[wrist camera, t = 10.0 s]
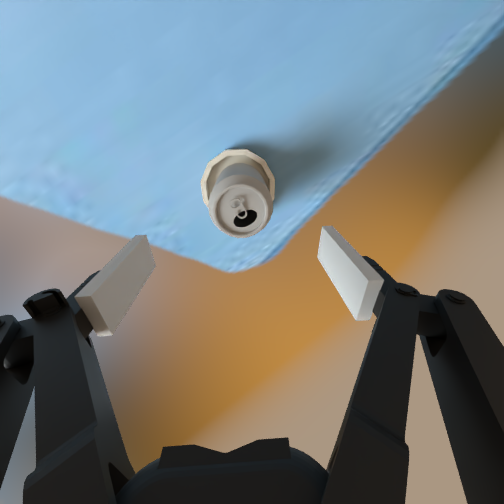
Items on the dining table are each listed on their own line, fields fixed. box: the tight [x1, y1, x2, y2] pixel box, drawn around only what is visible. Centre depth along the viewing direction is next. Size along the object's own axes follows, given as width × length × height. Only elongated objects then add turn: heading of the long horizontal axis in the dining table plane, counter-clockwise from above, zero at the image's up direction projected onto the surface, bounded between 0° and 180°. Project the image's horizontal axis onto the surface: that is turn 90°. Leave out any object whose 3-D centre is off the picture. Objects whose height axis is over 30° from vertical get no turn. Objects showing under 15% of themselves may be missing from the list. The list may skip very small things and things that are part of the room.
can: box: [208, 163, 273, 238], centre depth 28 cm, size 8×8×12 cm
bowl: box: [201, 149, 275, 207], centre depth 33 cm, size 11×11×2 cm
